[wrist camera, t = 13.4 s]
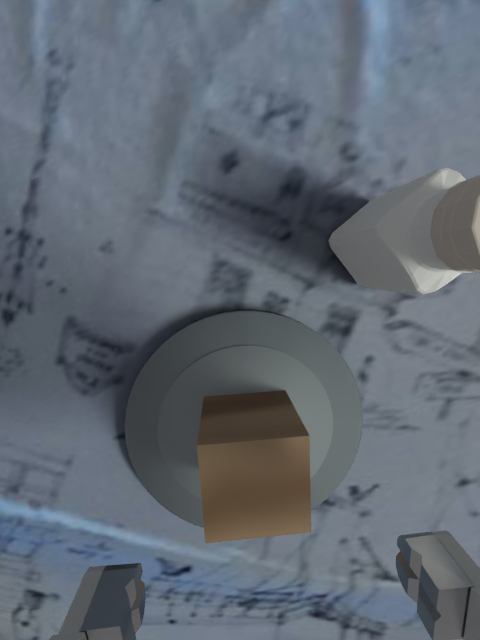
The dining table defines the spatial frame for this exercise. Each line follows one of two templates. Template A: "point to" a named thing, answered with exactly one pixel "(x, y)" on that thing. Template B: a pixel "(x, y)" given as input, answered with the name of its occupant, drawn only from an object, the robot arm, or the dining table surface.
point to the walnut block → (253, 467)
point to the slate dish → (238, 378)
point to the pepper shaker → (414, 235)
